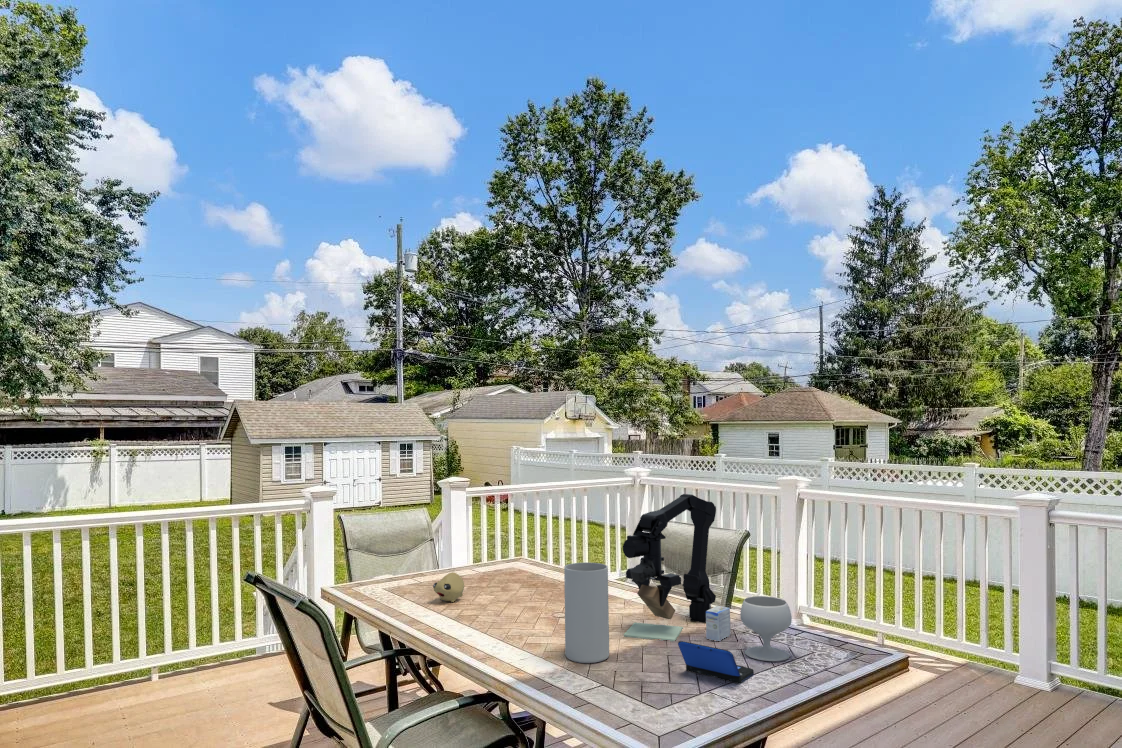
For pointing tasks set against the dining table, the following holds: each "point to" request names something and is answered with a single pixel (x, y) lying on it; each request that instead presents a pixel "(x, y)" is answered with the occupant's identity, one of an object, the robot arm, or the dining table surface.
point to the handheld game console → (713, 662)
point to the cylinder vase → (586, 612)
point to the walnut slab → (655, 602)
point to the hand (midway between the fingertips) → (653, 604)
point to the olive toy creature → (449, 587)
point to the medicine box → (717, 623)
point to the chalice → (766, 624)
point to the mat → (653, 631)
